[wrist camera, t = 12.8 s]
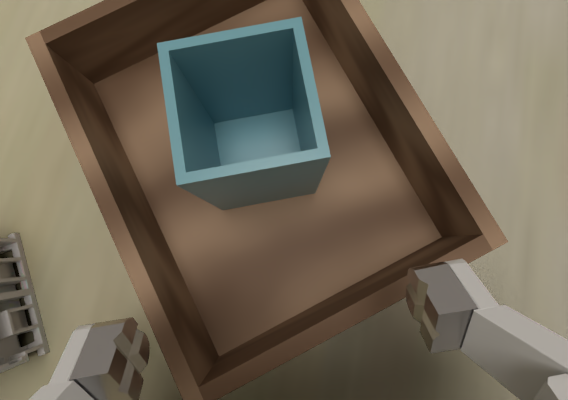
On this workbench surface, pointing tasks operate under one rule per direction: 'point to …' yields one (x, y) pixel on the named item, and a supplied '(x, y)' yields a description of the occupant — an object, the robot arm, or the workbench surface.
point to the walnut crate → (265, 216)
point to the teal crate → (244, 114)
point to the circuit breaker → (17, 308)
